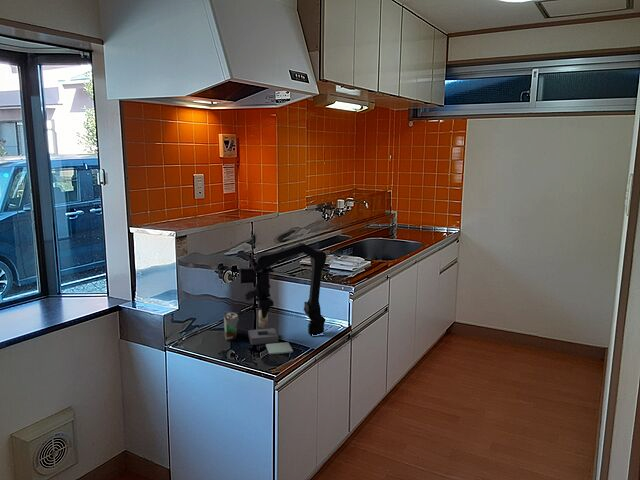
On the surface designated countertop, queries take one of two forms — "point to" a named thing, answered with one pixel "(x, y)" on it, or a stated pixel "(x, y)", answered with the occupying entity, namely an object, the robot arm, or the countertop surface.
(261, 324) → the plug
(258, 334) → the grey square frame
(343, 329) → the countertop surface
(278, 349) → the mat
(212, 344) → the countertop surface
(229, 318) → the food container
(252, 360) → the countertop surface
